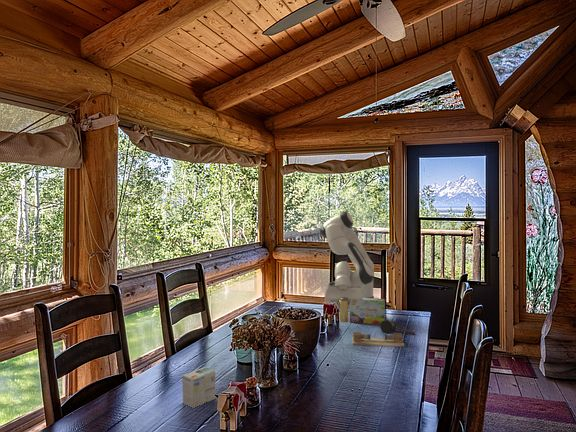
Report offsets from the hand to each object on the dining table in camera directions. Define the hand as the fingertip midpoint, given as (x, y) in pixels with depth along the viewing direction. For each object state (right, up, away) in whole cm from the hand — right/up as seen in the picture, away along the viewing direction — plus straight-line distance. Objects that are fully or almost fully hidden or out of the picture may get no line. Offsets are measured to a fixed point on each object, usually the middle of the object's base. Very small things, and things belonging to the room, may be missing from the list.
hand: (343, 308), depth 227 cm
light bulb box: (-62, -20, -68) cm, 94 cm away
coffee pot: (+32, -18, +16) cm, 40 cm away
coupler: (0, -7, +1) cm, 7 cm away
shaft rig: (+18, -18, -1) cm, 25 cm away
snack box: (+19, -17, +38) cm, 46 cm away
